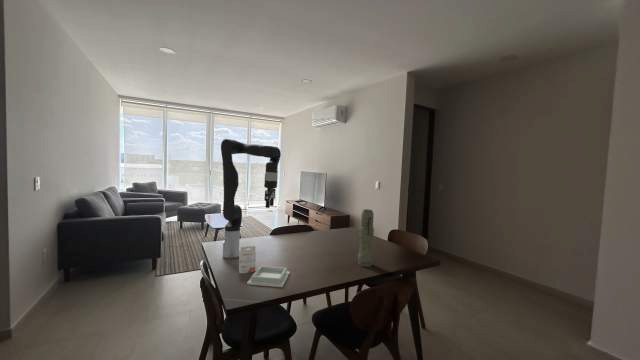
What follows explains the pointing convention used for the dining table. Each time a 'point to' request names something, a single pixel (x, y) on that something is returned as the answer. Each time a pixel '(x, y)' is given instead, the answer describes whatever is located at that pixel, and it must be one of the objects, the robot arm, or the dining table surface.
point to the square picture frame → (269, 276)
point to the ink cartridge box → (247, 259)
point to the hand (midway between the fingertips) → (269, 206)
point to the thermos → (366, 239)
